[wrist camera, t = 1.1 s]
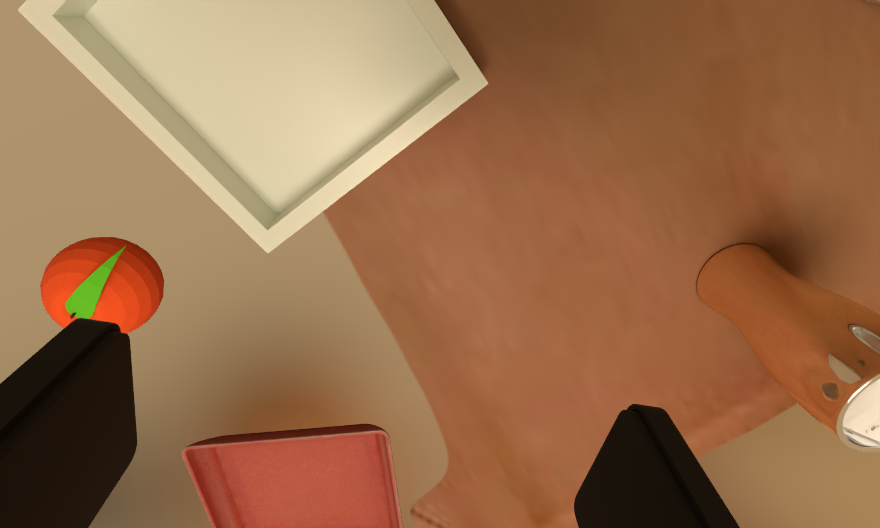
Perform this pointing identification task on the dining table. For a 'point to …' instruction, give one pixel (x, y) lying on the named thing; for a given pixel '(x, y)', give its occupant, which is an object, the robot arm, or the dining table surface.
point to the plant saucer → (297, 478)
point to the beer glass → (803, 339)
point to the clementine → (102, 283)
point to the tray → (269, 90)
